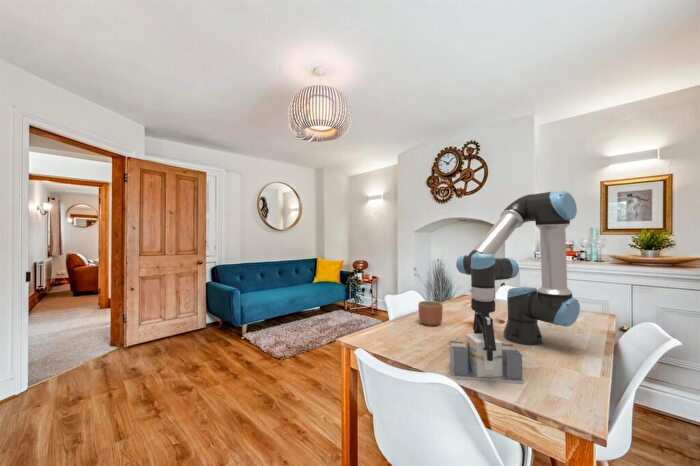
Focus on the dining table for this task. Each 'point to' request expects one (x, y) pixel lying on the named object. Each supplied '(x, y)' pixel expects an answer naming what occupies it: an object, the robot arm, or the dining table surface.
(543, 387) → the dining table surface
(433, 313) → the planter
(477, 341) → the ink box
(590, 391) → the dining table surface
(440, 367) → the dining table surface
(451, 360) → the grey box holder
